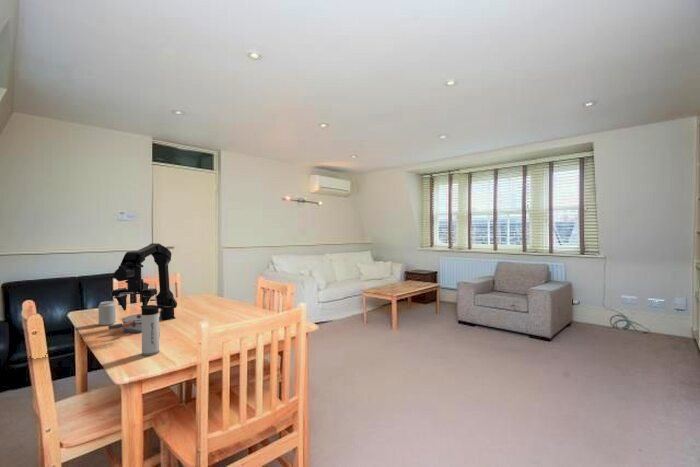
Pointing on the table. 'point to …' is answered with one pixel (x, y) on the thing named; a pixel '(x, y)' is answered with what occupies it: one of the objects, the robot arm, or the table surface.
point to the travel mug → (150, 330)
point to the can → (107, 313)
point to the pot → (129, 330)
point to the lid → (131, 320)
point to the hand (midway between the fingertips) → (134, 310)
